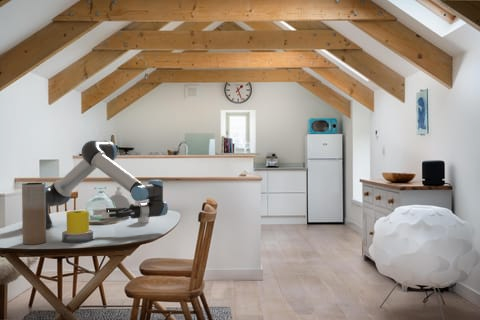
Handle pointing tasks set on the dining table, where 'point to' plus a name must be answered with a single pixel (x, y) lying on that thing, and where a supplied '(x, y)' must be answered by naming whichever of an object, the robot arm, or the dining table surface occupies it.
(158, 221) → the dining table surface
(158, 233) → the dining table surface
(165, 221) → the dining table surface
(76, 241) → the grey metal disc
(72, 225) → the tape roll
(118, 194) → the soap bottle
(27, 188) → the vase
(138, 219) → the foam cup
